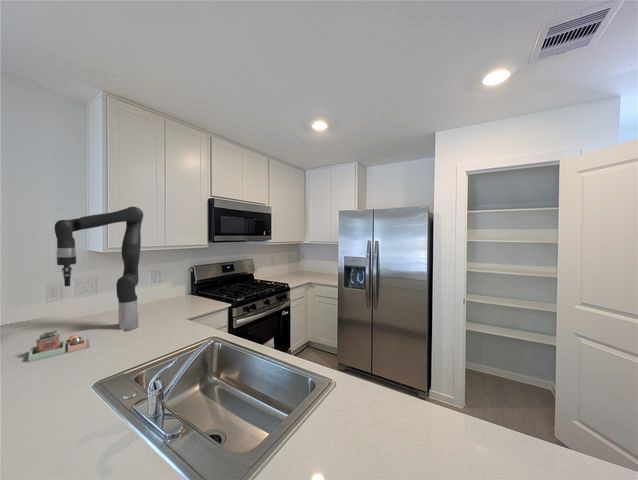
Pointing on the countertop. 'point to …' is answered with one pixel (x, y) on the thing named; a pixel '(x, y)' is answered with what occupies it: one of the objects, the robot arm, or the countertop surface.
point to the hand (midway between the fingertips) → (67, 284)
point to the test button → (72, 337)
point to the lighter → (48, 341)
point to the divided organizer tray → (57, 350)
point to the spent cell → (76, 340)
